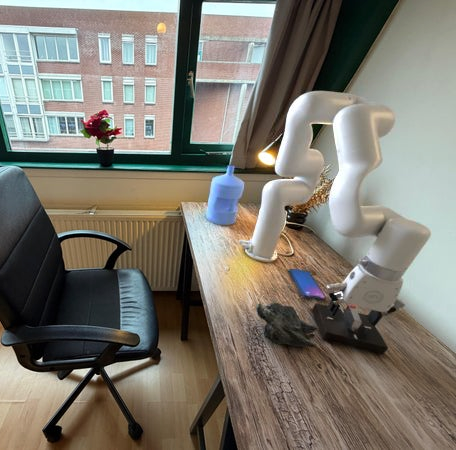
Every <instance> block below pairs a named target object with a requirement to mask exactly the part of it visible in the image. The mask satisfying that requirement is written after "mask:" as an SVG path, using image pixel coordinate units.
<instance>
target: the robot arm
mask: <svg viewBox="0 0 456 450" xmlns="http://www.w3.org/2000/svg"><path fill="white" fill-rule="evenodd" d="M395 122H396V116H395V113H394V111H393V109H392V108H390V107H389V106H387V105H385V104H382V103H380V102H376V101H374V100H371V99H368V98H365V97H363V96H360V95H357V94H354V93H347V92H337V91H329V90H328V91H327V90H313V91H307V92H305V93H303V94H301V95H299V96H298V97H297V98H296V99H294V101H293V102H292V104H291V105H290V107H289V109H288V112H287V114H286V119H285V126H284V127H285V128H284V134H283V137H282V140H281V144H280V145H279V150H278V154H277V156H276V159H275V164H274V171H275V173H276V174H277V175H278V176H280V177H283V179H282V178H281V179H280V178H279V179H274V180H271V181H268V182H267V183H266V184H265V185H264V186H263V188H262V192H261V203H260V209H259V213H258V216H257V221H256V224H255V226H254V231H253V233H252V236H251V237H252V238H249V240H245V239H239V240H238V244H239V245H241V247H242V248H244V251H245V253H246V254H247V255H248V257H250V258H251V259H253V260H255V261H259V262H263V263H272V262H275V261H276V260H277V259H278V253H277V252H276V249H277V246H278V244H279V240H280V238H281V234H282V232H283V229H284V226H285V222H286V219H287V213H286V209H285V207H286V206H287V207H288V206H298V205H304V204H306V203H307V202H309V201H310V200H311V198H312V197H313V194H314V192H315V190H316V188H317V186H318V182H319V180H320V178H321V175H322V172H323V169H324V166H325V160H324V155H323V154H322V153H321V151H319V150H317V149H315V148H310V147H311V144H312V141H313V137H314V132H313V126H312V125H313V124H322V125H332V130H333V136H334V142H335V148H336V155H337V161H338V169H339V170H338V173H337V175H336V176H335V178H334V180H333V182H332V185H331V188H330V191H329V194H328V208H329V215H330V219H331V223H332V226H333V227H334V229H335V231H336V232H337V233H338V234H339V235H340V236H342V237H345V238H351V239H353V238H364V237H372V238H373V237H374V238H375V240H374V242H373V243H372V245H371V247H370V248H369V250H368V251H367V253H366V255H365V256H364V257H363V258H358V259H357V261H356V263H357V265H356V266H355V267H354V268H353V269H352V270H351V271H350V272H349V273H348V274H347V276H346V278H344V280H343V281H342V282H341V283H333V284H332V283H331V284H326V291H327V295H328V296H329V298H330V301H329V303H328V304H327V306H328V310H329V312H330V314H331V315H332V316H335V314H336V313H337V311H338V309H339V308H340V309H341V304H343V303H345V304H347V305H348V304H350V305H354V306H356V307H358V308H361V309H367V310H370V311H369V313H368V314H367V315H368V316H367V318H368V320H369V322H370V323H371V325H372V326H375V327H376V326H377V324H378V323H379V322H380V321H381V319H382V318H383V317H387V316H388V315H389V314H393V313H395V312H397V310H399V309H400V310H401V309H402V308H404V307H405V306H406V304H405V303H404V302H403V300H401V299H399V298H398V297H399V295H400V293H401V290H402V287H403V284H404V279H403V278H402V277H403V276H404V274H405V273H406V272H407V270H408V269H409V267H410V266H411V265H412V263H413V262H414V261H415V259H416V258H417V256H419V254H420V252H421V251H422V249H423V248H424V247H425V246H426V244H427V242H428V241H429V240H430V238H431V235H432V232H431V230H430V228H428V227H427V226H426V225H425V224H423V223H420V222H417V221H415V220H412V219H408V218H406V217H404V216H403V215H401V214H399V213H398V212H396V211H394V210H393V209H391V208H389V207H387V206H384V205H365V206H363V205H362V203H361V194H360V193H361V186H362V184H363V182H364V180H365V178H366V177H367V176H368V175H370V174H371V173H372V172H373V171H374V170H376V169H377V168H378V167H380V166H381V165H382V163H383V155H382V149H381V144H380V139H381V138H383V137H385V136H387V135H388V134H389V133H390V132H391V131H392V130H393V127H394V126H395ZM289 178H290V179H289ZM292 178H293V179H292Z"/></svg>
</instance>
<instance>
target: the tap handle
mask: <svg viewBox="0 0 456 450" xmlns="http://www.w3.org/2000/svg"><path fill="white" fill-rule="evenodd" d="M344 310H345V311H344V313H343V316H344V319H345V322H346V325H347V328H348V331H351V332H354V333H356V331H357V330H358V328H359V327H360V325H361V323H362V321H361V319H360V317H359V314H358V313H359V312H358V309H357V306H354V305H350V304H347V306H346V307H345V309H344Z"/></svg>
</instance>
